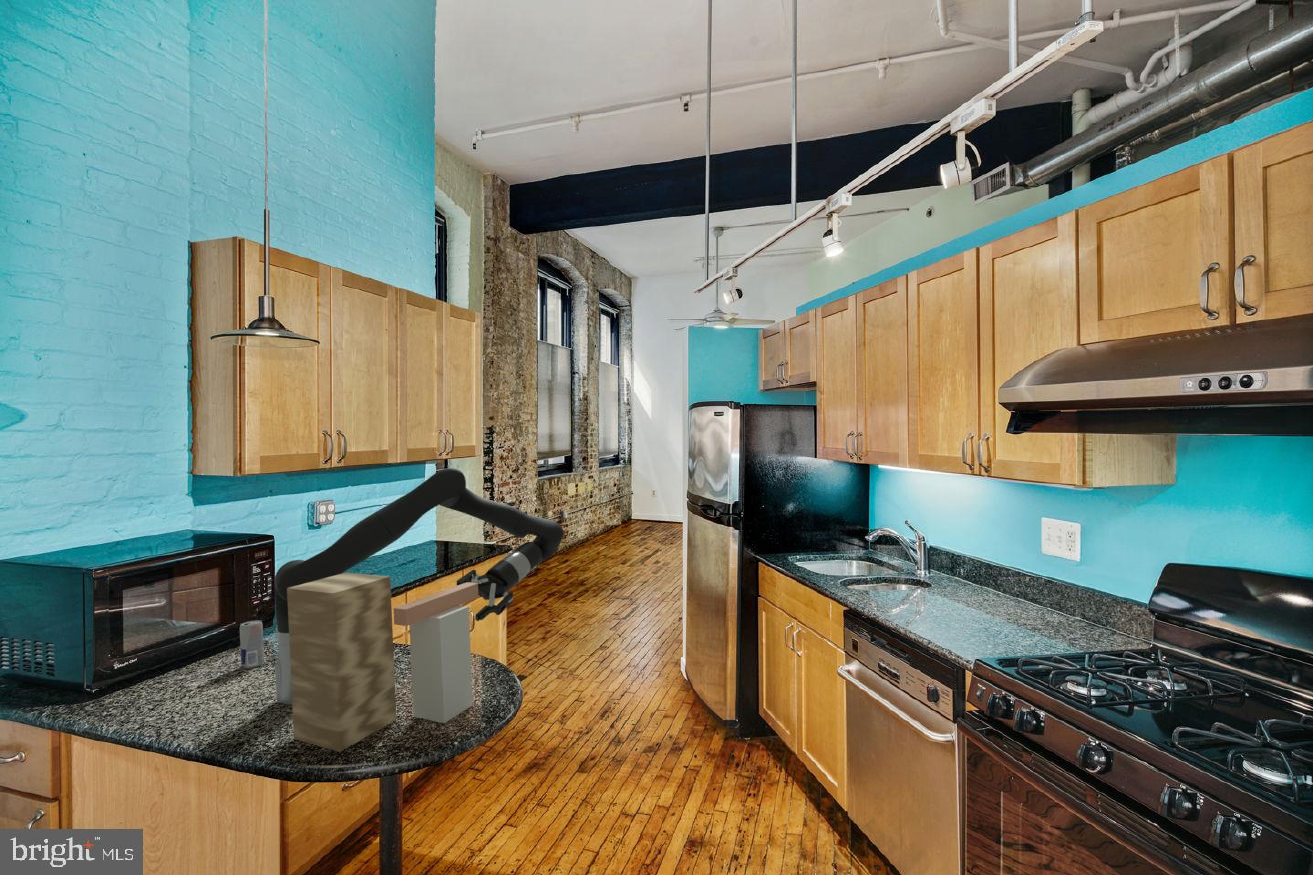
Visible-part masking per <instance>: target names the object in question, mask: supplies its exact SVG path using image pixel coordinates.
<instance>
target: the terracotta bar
mask: <svg viewBox="0 0 1313 875" xmlns="http://www.w3.org/2000/svg"><path fill="white" fill-rule="evenodd" d="M476 599H479V596H478V583H469V582H466V583H463V584H460V585H458V586H457V585H455V586H453V587H449V588H447V589H444V590H440V591H438V592H435V593H433V594H429V595H427V596H424V597H421V598H417V599H415V600H412V601H409V602H406V603H403V604H401V605H398V606H396V607H393V625H396V626H402V627H408V626H410V624H413V623H415V622H418V621H420V620H423V619H426V618H428V617H431V616H433V615H436V614H438V613H441V612H443V611H446V610H448V609H451V608H453V607H456V606H458V605H459V606H462V605H463V604H466V603H469V602H472V601H474V600H476Z"/></svg>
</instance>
